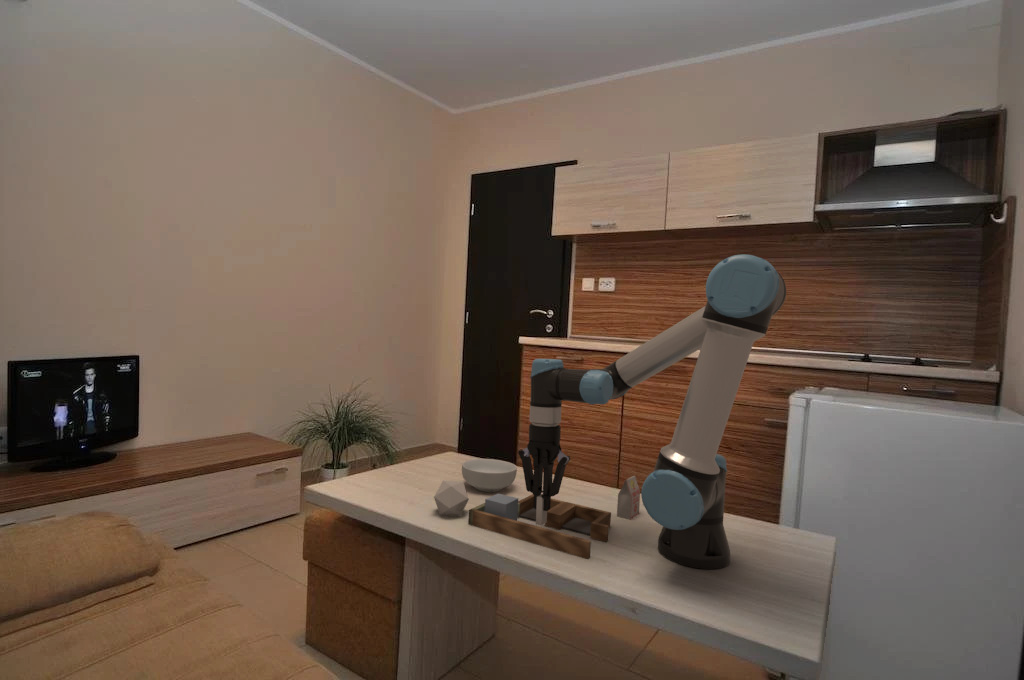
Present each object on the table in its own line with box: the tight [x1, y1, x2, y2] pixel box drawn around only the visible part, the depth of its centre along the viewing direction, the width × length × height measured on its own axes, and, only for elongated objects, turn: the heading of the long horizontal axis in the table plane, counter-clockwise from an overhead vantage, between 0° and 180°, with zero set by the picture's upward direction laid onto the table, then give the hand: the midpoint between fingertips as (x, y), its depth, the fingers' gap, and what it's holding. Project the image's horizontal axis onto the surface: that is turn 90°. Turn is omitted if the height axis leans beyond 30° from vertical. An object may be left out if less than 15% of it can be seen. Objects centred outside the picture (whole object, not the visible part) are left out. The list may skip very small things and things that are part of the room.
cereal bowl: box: [461, 458, 518, 493], centre depth 154 cm, size 17×17×7 cm
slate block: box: [484, 493, 519, 521], centre depth 125 cm, size 6×6×6 cm
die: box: [433, 480, 469, 517], centre depth 130 cm, size 8×9×10 cm
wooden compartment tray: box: [467, 493, 612, 560], centre depth 124 cm, size 31×22×4 cm
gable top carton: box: [616, 475, 641, 520], centre depth 136 cm, size 4×7×10 cm, turn 146°
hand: (541, 523), depth 120 cm, fingers closed
